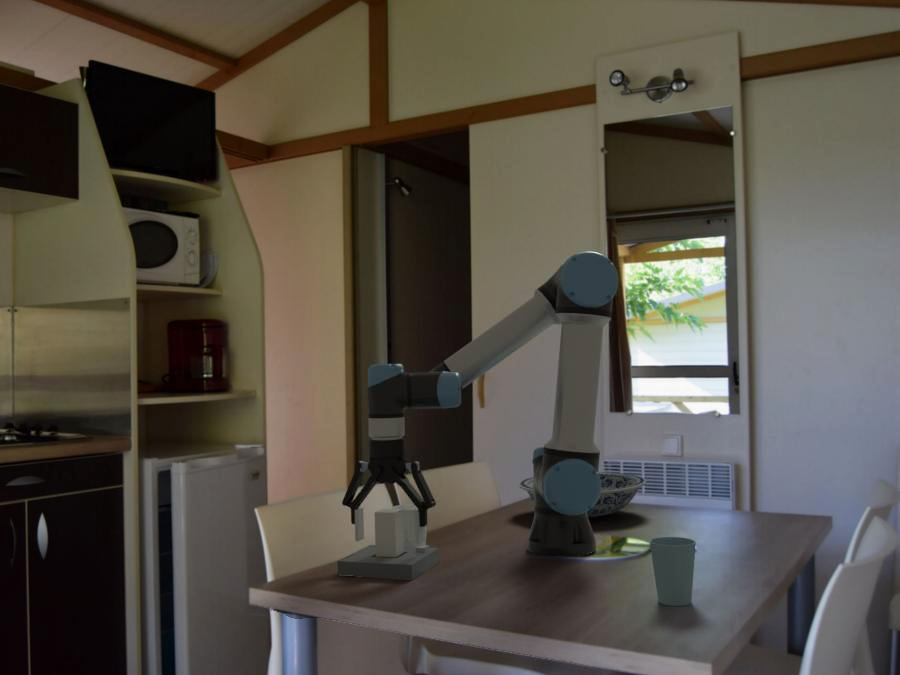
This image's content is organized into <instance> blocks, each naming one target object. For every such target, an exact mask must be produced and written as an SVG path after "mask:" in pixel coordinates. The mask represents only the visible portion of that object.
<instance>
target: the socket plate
mask: <svg viewBox="0 0 900 675" xmlns="http://www.w3.org/2000/svg"><path fill="white" fill-rule="evenodd" d="M439 563H440V548H439V547H431V546H430V544H429V545H428V544H426V545H420V546H418V547H406V546H404V553H402V554H401V556H400V557H399V558H385V557H379V556H376V545H375V544H369V545H367V546H365V547H362V548H361V549H359V550H357V551H355V552H353V553H351V554H349V555H347V556H344V557H343V558H340V559H339V560H337V562H336V564H337V575H338V574H340V575H353V576H362V577H371V578H370V579H379V578H382V579H383V580H384V579H385V580H399V581H400V580H402V581H413V580H415V579H416V578H418V577H419V576H421V575H423V574H424V573H425V572H427V571H428V570H430V569H431V568H433V567H434V566H436V565H437V564H439ZM362 577H361V578H362ZM382 579H381V580H382Z"/></svg>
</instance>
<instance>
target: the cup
mask: <svg viewBox="0 0 900 675" xmlns="http://www.w3.org/2000/svg"><path fill="white" fill-rule="evenodd" d="M696 542H697V541H696V540H694V539H691V538H687V537H678V536H660V537H654V538H651V539H650V540H649V544H650V545H649V546H650V553H651V560H652V566H653V574H654V575H653V576H654V579H655V581H654V583H655V588H656V594H657V600H658V603H660V604H662V605H665V606H670V607H683V606H688V605H691V604H692V599H693V597H692V596H693V586H694V571H695V559H696V558H695V554H696V545H697V544H696Z"/></svg>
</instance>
